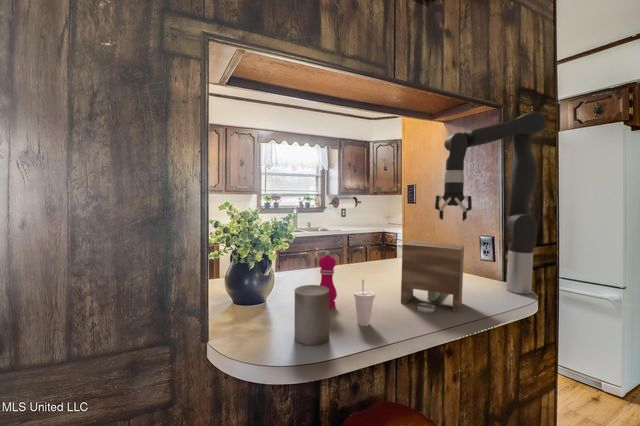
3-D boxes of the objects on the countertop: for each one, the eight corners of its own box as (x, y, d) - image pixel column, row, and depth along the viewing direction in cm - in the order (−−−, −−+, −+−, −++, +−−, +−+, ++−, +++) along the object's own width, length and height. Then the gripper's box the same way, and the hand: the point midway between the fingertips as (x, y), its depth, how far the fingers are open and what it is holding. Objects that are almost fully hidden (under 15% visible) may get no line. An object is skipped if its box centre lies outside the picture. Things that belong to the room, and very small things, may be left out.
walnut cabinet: (408, 294, 133) (409, 240, 132) (461, 303, 123) (464, 245, 122) (400, 302, 122) (402, 244, 121) (458, 312, 113) (461, 249, 112)
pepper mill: (315, 309, 113) (316, 252, 112) (316, 303, 120) (317, 249, 119) (336, 310, 113) (337, 253, 112) (336, 303, 120) (337, 249, 119)
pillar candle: (325, 330, 96) (326, 279, 96) (332, 344, 87) (332, 289, 86) (292, 332, 95) (292, 280, 94) (295, 347, 85) (295, 290, 85)
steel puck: (419, 307, 118) (419, 302, 118) (436, 310, 115) (436, 305, 115) (415, 312, 113) (415, 306, 113) (433, 315, 110) (433, 310, 110)
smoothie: (349, 321, 103) (350, 277, 102) (366, 318, 106) (368, 276, 105) (359, 329, 97) (361, 282, 97) (378, 326, 100) (379, 280, 99)
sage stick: (440, 287, 146) (440, 278, 146) (446, 288, 145) (446, 279, 145) (427, 300, 127) (427, 290, 126) (434, 301, 125) (434, 291, 125)
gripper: (473, 182, 138) (471, 220, 139) (437, 182, 145) (436, 218, 145) (472, 181, 131) (470, 221, 132) (434, 181, 138) (433, 219, 139)
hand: (452, 220), depth 139 cm, fingers open, 8 cm apart
